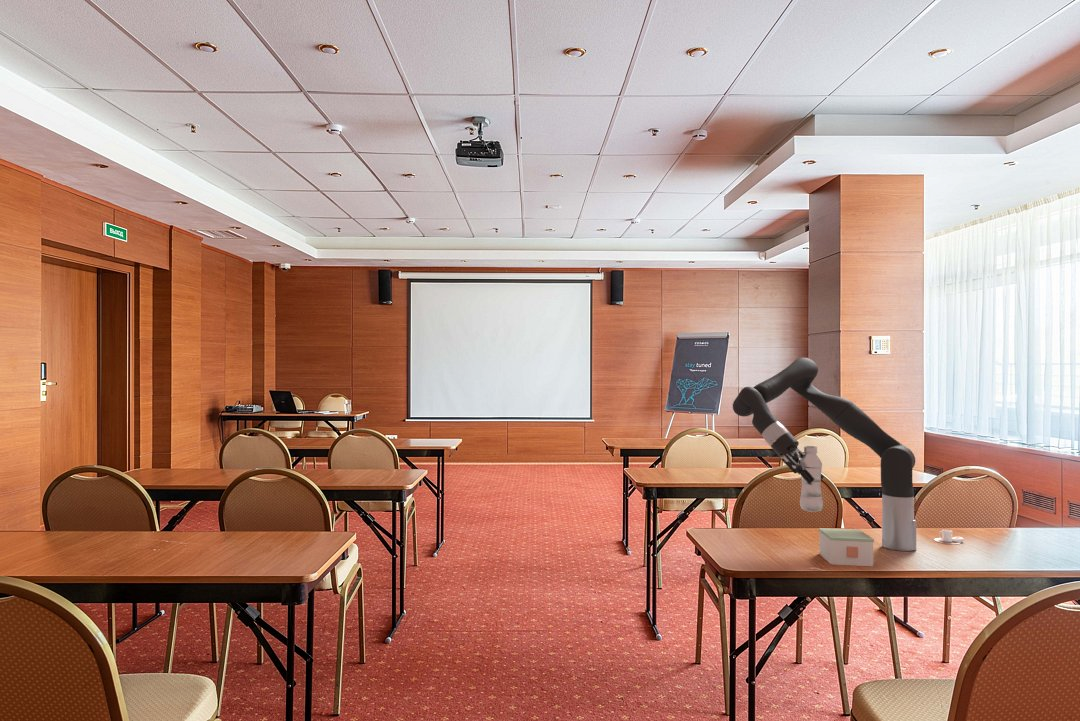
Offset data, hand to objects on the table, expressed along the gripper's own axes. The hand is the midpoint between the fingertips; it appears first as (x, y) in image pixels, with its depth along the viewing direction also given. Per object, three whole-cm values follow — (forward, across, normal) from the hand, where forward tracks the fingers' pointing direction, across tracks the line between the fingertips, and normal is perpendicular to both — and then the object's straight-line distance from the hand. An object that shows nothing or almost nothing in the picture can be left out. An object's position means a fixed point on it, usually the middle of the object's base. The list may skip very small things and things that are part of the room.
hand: (816, 480), depth 206 cm
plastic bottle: (+6, 0, -8) cm, 10 cm away
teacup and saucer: (+34, -55, -2) cm, 65 cm away
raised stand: (+21, -6, -13) cm, 26 cm away
